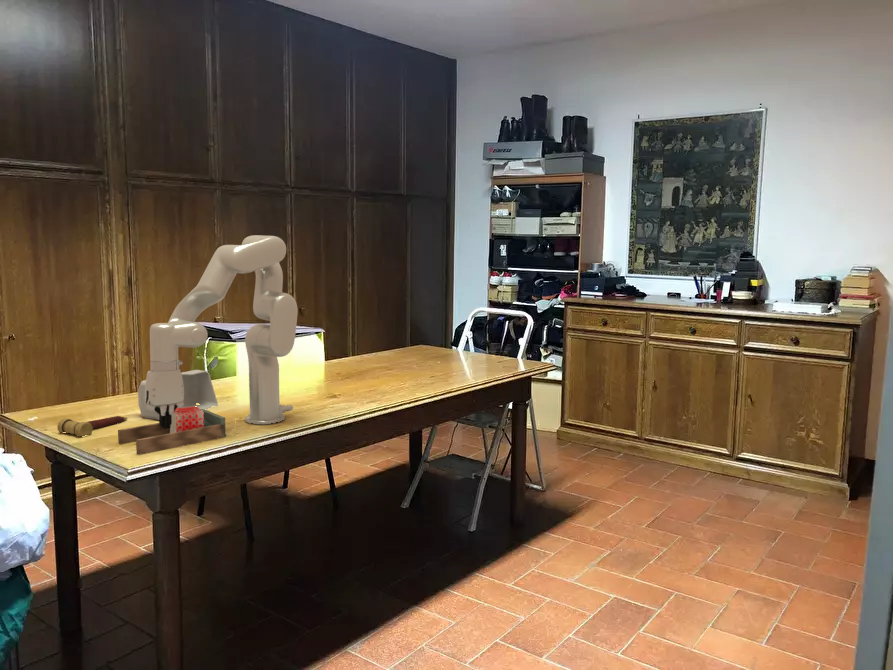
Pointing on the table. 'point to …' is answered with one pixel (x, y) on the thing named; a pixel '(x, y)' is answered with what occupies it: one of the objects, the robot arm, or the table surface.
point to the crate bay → (172, 434)
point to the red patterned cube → (187, 419)
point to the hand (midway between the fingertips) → (165, 427)
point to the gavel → (86, 425)
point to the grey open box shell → (186, 393)
